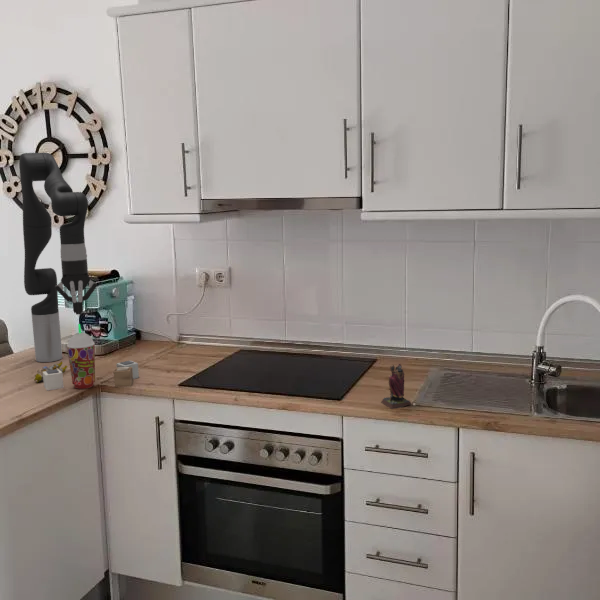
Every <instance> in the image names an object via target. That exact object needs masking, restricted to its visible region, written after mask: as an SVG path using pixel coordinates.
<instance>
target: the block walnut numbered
mask: <svg viewBox="0 0 600 600" xmlns="http://www.w3.org/2000/svg"><path fill="white" fill-rule="evenodd" d="M113 380H114V381H113V382H114V388H121V387H122V388H124V387H132V386H133V383H134V379H133V370H132V367H119V368H117V367H116V368H115V369H114V371H113Z"/></svg>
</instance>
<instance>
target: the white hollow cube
mask: <svg viewBox="0 0 600 600" xmlns="http://www.w3.org/2000/svg"><path fill="white" fill-rule="evenodd" d="M63 373H64V372H61V371H60V370H59V369H58V368H57V369H56V370H49V371H44V372H43V387H44V389H45V390H46V392H47V391H53V390H59V389H60V390H61V389H64V376H63V375H64V374H63Z"/></svg>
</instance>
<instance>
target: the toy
mask: <svg viewBox="0 0 600 600" xmlns="http://www.w3.org/2000/svg"><path fill="white" fill-rule="evenodd" d="M63 364H64V363H63V361H60V362H58V363H55V364H52V365H49V366H46V365H45V366H43V367H42V368H39V369H37V373H36V374H35V375H34V379H33V380H34V381H36V383H39V382H41V383H42V382H44V380H43V372H44V371H49V370H56V369H59V370H60V371H61V372H62V373H65V371H66V370H67V368H68V367H69V366H67V365H64V366H63V367H61V366H62V365H63Z"/></svg>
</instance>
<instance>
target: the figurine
mask: <svg viewBox="0 0 600 600" xmlns="http://www.w3.org/2000/svg"><path fill="white" fill-rule="evenodd" d="M389 371H390V372H391V375H390V374H389V375H388V387H389V393H390V394H389V395H390V397H389V396H387V397H384V398H382V400H381V403H382V404H383V405H385V406H386V407H388V408H389V409H391V410H393V409H401V408H404V407H406V406H409V405H410V406H411V405H412V403H411V401H410V400H408V399H407V398H405V397H404V396H405V372H404V369H403V368H402V364H401V363H398V364H397V365H396V366H395V365H394V364H392V365H390V367H389Z"/></svg>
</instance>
